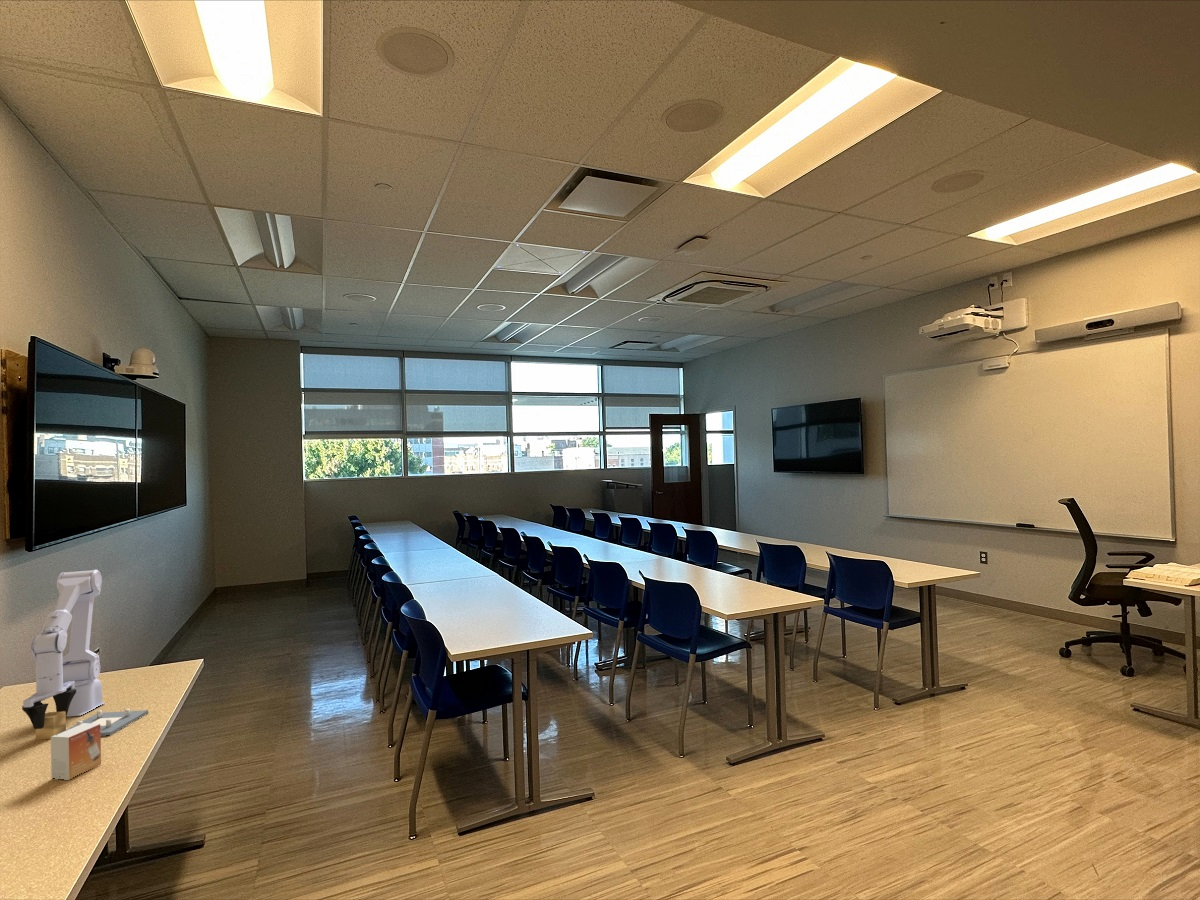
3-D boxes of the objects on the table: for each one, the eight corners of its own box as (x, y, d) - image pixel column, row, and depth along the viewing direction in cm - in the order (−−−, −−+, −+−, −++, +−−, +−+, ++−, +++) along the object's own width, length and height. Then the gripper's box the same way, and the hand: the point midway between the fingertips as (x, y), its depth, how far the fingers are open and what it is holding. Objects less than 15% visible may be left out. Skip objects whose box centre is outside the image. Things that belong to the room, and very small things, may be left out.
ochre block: (48, 733, 173) (47, 712, 173) (66, 732, 174) (65, 711, 174) (35, 739, 169) (35, 718, 169) (54, 738, 170) (53, 717, 170)
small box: (68, 781, 145) (67, 737, 145) (50, 779, 146) (49, 736, 146) (102, 764, 153) (101, 723, 153) (84, 763, 154) (83, 722, 154)
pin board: (98, 716, 184) (98, 706, 184) (148, 713, 185) (148, 703, 185) (56, 738, 169) (55, 728, 169) (110, 735, 170) (110, 725, 170)
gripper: (41, 683, 165) (42, 733, 164) (84, 665, 179) (85, 711, 179) (14, 684, 164) (15, 734, 164) (60, 667, 179) (61, 712, 179)
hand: (50, 722), depth 171 cm, fingers open, 7 cm apart
